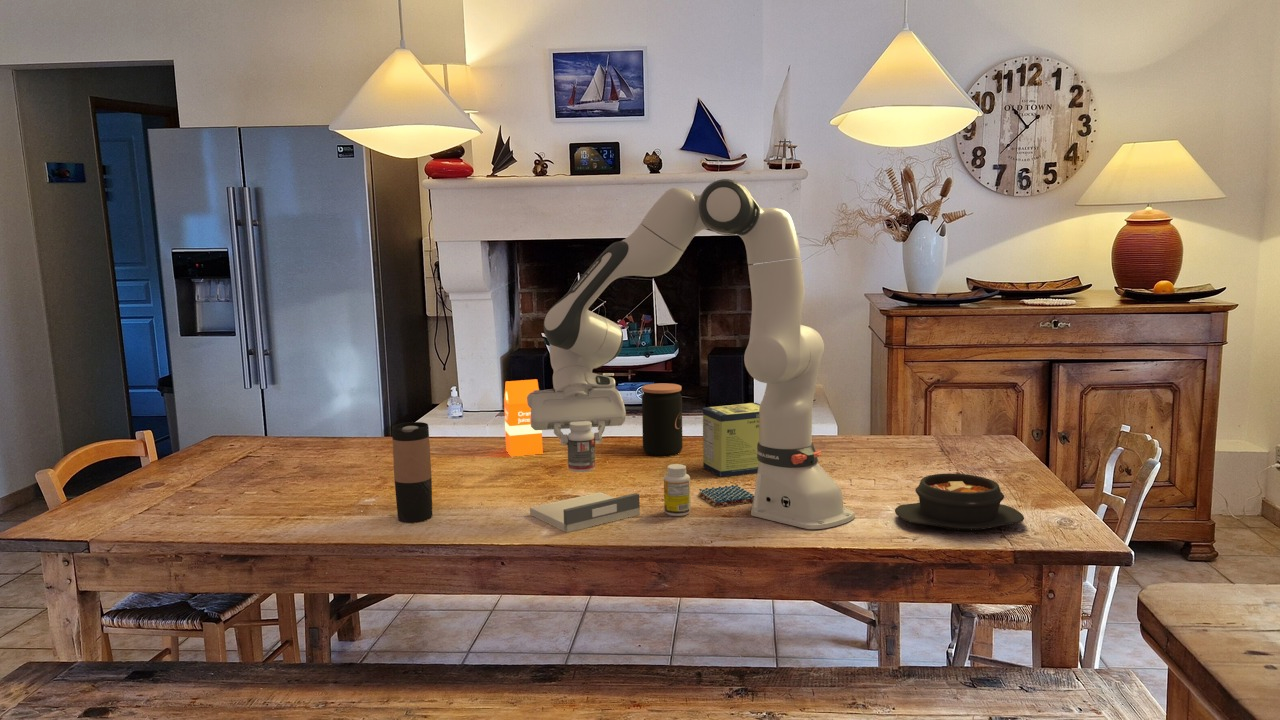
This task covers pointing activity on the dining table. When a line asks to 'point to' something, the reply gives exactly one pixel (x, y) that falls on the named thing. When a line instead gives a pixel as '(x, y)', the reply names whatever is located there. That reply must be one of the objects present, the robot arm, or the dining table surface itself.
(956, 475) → the casserole
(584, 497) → the shelf
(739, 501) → the woven mat
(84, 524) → the dining table surface
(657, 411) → the coffee jar
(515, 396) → the orange juice
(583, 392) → the robot arm
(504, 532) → the dining table surface
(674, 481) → the supplement bottle
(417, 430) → the travel mug
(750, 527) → the dining table surface
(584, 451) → the pill bottle
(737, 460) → the protein box
